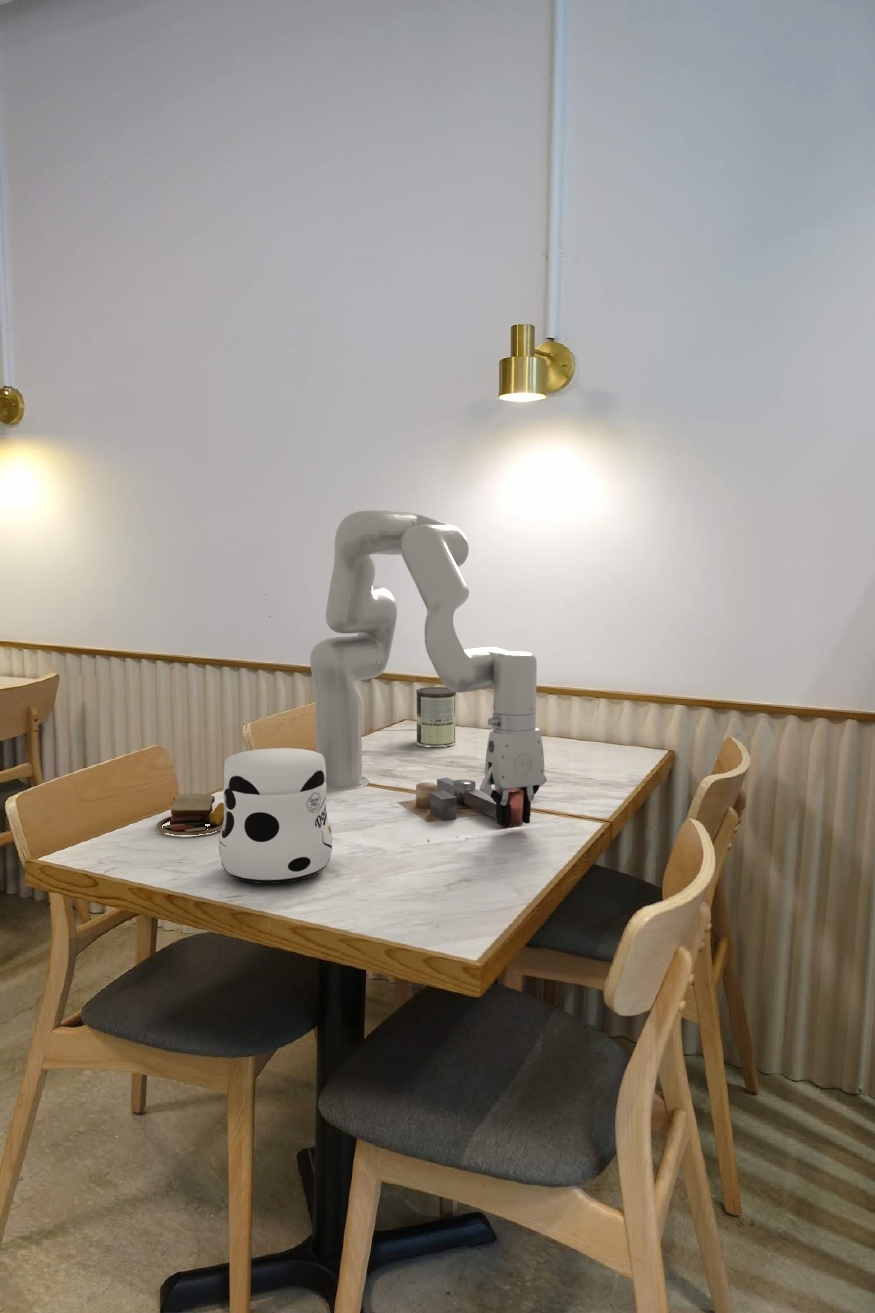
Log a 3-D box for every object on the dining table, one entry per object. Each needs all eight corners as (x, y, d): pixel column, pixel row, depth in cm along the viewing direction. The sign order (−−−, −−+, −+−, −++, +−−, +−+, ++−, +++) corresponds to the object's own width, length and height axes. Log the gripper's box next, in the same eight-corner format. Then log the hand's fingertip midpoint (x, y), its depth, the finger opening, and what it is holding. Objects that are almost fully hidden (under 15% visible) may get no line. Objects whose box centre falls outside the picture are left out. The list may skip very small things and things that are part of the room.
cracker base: (429, 827, 162) (429, 801, 161) (397, 807, 175) (397, 782, 174) (505, 816, 169) (506, 790, 168) (469, 797, 182) (469, 773, 181)
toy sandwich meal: (147, 840, 155) (146, 813, 155) (169, 816, 169) (169, 792, 168) (219, 840, 155) (219, 813, 155) (236, 816, 169) (235, 792, 168)
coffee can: (407, 743, 232) (408, 689, 230) (438, 737, 239) (438, 685, 237) (433, 750, 224) (433, 694, 223) (464, 744, 231) (464, 690, 229)
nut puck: (424, 809, 169) (424, 789, 169) (411, 805, 173) (411, 784, 172) (441, 806, 172) (441, 785, 171) (428, 801, 175) (428, 781, 175)
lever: (432, 792, 179) (432, 764, 178) (451, 789, 181) (451, 761, 180) (509, 826, 157) (509, 795, 156) (529, 822, 159) (529, 791, 158)
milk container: (355, 870, 140) (354, 758, 138) (266, 902, 128) (264, 779, 125) (285, 845, 152) (284, 741, 150) (197, 873, 139) (194, 759, 137)
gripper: (486, 730, 150) (485, 836, 152) (565, 721, 158) (563, 821, 160) (462, 722, 156) (462, 824, 159) (539, 714, 165) (538, 811, 167)
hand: (513, 822), depth 159 cm, fingers closed on lever, 3 cm apart
